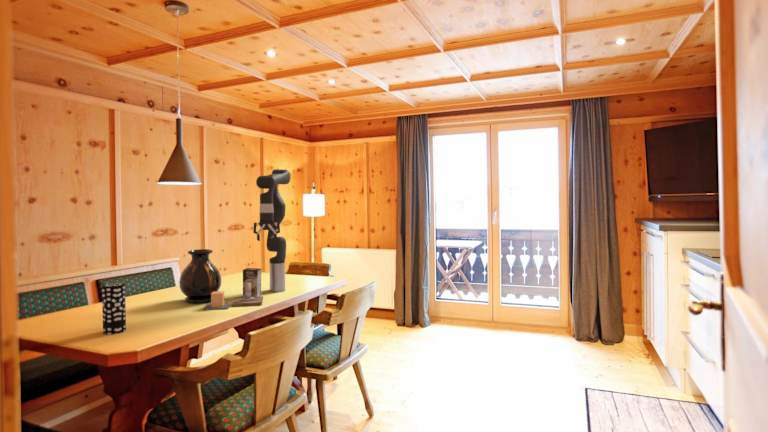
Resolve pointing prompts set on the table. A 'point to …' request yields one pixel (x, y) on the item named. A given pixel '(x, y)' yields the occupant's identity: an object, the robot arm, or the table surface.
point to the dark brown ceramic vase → (199, 277)
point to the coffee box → (252, 281)
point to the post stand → (247, 298)
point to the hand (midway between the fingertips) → (266, 240)
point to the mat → (208, 307)
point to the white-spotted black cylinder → (113, 308)
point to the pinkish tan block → (217, 299)
